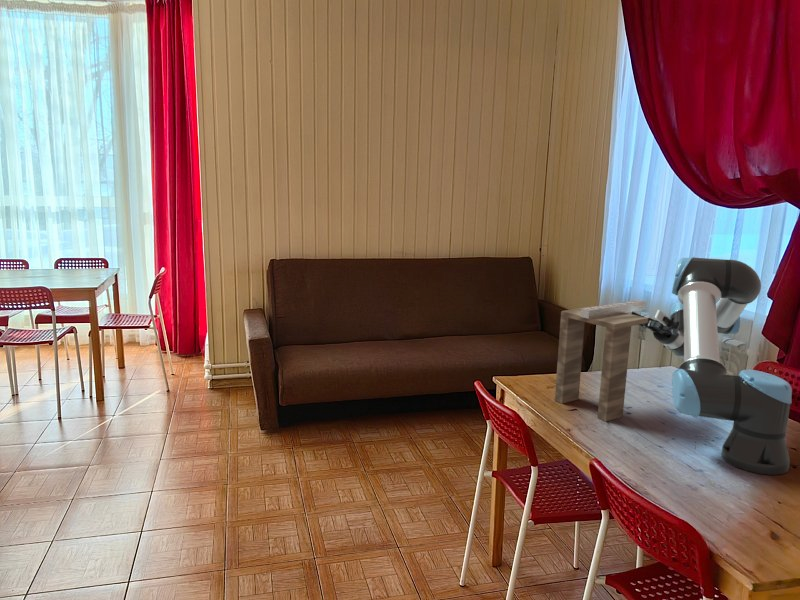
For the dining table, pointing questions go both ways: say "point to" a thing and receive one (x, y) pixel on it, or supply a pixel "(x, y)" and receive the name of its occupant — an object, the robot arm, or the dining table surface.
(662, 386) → the dining table surface
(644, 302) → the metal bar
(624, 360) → the striped wooden stand
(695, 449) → the dining table surface
